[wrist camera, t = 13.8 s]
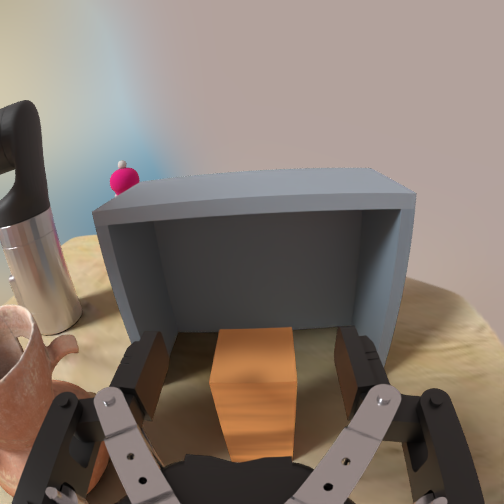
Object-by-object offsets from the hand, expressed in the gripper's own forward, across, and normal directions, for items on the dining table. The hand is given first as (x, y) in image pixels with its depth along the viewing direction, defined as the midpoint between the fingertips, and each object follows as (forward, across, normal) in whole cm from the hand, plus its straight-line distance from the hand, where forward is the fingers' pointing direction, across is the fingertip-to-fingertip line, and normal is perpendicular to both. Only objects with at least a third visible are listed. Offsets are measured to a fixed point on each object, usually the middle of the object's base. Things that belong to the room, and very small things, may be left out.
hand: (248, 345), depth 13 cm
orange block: (+4, 0, +15) cm, 16 cm away
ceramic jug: (-2, +20, +15) cm, 25 cm away
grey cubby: (+14, 0, +15) cm, 21 cm away
